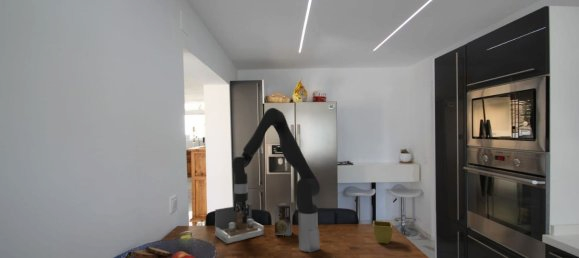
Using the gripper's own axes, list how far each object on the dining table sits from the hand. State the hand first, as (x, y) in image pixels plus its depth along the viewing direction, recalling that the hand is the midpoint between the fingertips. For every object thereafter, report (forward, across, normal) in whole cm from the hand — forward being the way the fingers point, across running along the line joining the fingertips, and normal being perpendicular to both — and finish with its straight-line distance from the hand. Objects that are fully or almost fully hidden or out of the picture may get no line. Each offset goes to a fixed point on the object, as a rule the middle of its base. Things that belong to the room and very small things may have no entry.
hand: (241, 221), depth 142 cm
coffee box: (+8, -12, -20) cm, 25 cm away
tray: (+5, 0, 0) cm, 5 cm away
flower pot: (+8, -53, -53) cm, 75 cm away
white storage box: (+8, +2, 0) cm, 8 cm away
